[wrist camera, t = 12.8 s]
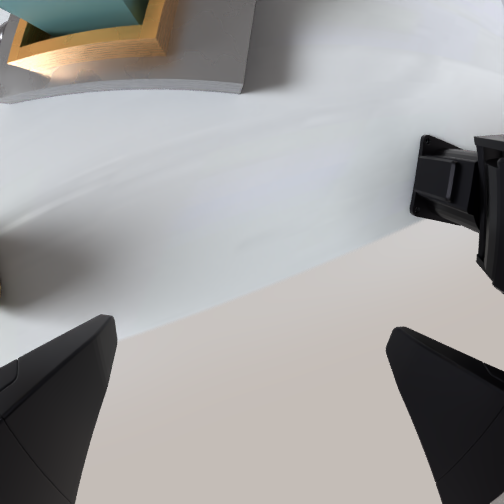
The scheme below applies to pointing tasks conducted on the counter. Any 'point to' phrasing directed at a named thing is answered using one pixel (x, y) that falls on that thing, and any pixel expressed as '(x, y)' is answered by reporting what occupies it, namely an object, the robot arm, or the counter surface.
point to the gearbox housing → (131, 53)
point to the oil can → (77, 14)
